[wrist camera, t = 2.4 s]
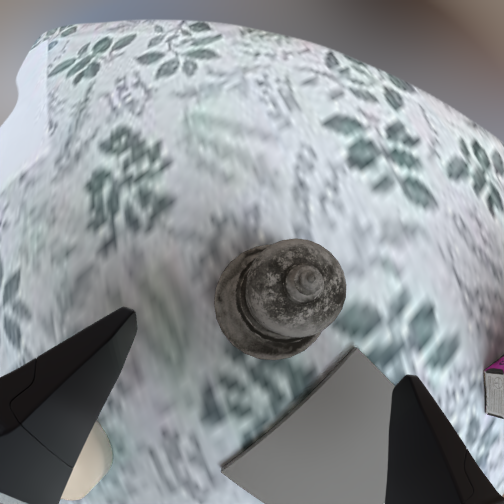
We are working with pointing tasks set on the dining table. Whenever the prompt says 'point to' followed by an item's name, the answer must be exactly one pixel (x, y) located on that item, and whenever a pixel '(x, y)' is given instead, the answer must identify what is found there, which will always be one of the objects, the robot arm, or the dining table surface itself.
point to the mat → (325, 443)
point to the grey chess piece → (279, 298)
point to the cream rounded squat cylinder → (90, 465)
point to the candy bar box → (495, 388)
